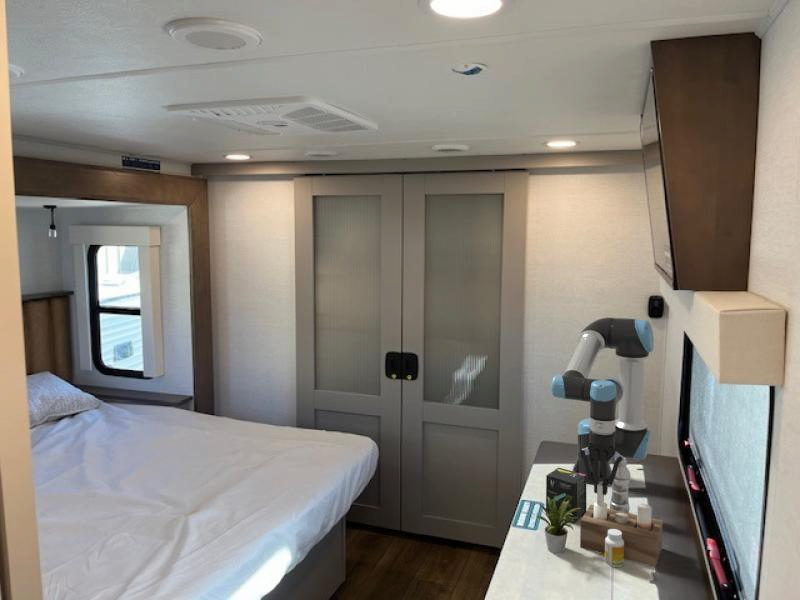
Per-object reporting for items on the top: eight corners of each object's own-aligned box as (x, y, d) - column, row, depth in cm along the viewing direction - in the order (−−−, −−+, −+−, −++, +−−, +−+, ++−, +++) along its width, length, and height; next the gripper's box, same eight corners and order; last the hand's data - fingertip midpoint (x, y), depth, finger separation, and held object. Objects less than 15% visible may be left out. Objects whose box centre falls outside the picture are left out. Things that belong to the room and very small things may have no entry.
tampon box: (586, 514, 211) (587, 474, 209) (574, 524, 204) (575, 483, 202) (557, 505, 218) (558, 466, 217) (545, 514, 212) (545, 474, 210)
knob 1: (594, 529, 195) (595, 499, 194) (607, 532, 193) (608, 502, 192) (591, 535, 192) (592, 505, 191) (604, 538, 190) (605, 508, 188)
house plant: (573, 569, 178) (574, 516, 176) (527, 557, 185) (528, 506, 183) (584, 546, 191) (585, 496, 189) (541, 535, 198) (541, 488, 195)
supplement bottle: (626, 562, 181) (627, 531, 180) (618, 569, 178) (619, 538, 176) (609, 555, 185) (610, 525, 184) (601, 562, 182) (601, 532, 180)
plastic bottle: (606, 514, 211) (607, 459, 208) (615, 508, 215) (616, 454, 213) (624, 521, 206) (625, 464, 203) (632, 514, 211) (634, 458, 208)
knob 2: (637, 533, 188) (638, 502, 187) (651, 536, 186) (652, 505, 185) (635, 539, 185) (636, 508, 184) (649, 542, 183) (650, 511, 181)
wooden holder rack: (590, 530, 200) (590, 500, 199) (661, 548, 189) (663, 516, 187) (580, 547, 190) (580, 515, 189) (655, 567, 179) (656, 533, 177)
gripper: (577, 431, 188) (576, 503, 191) (621, 438, 182) (619, 513, 185) (584, 424, 195) (582, 494, 198) (626, 430, 188) (624, 503, 191)
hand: (600, 503), depth 191 cm, fingers closed
